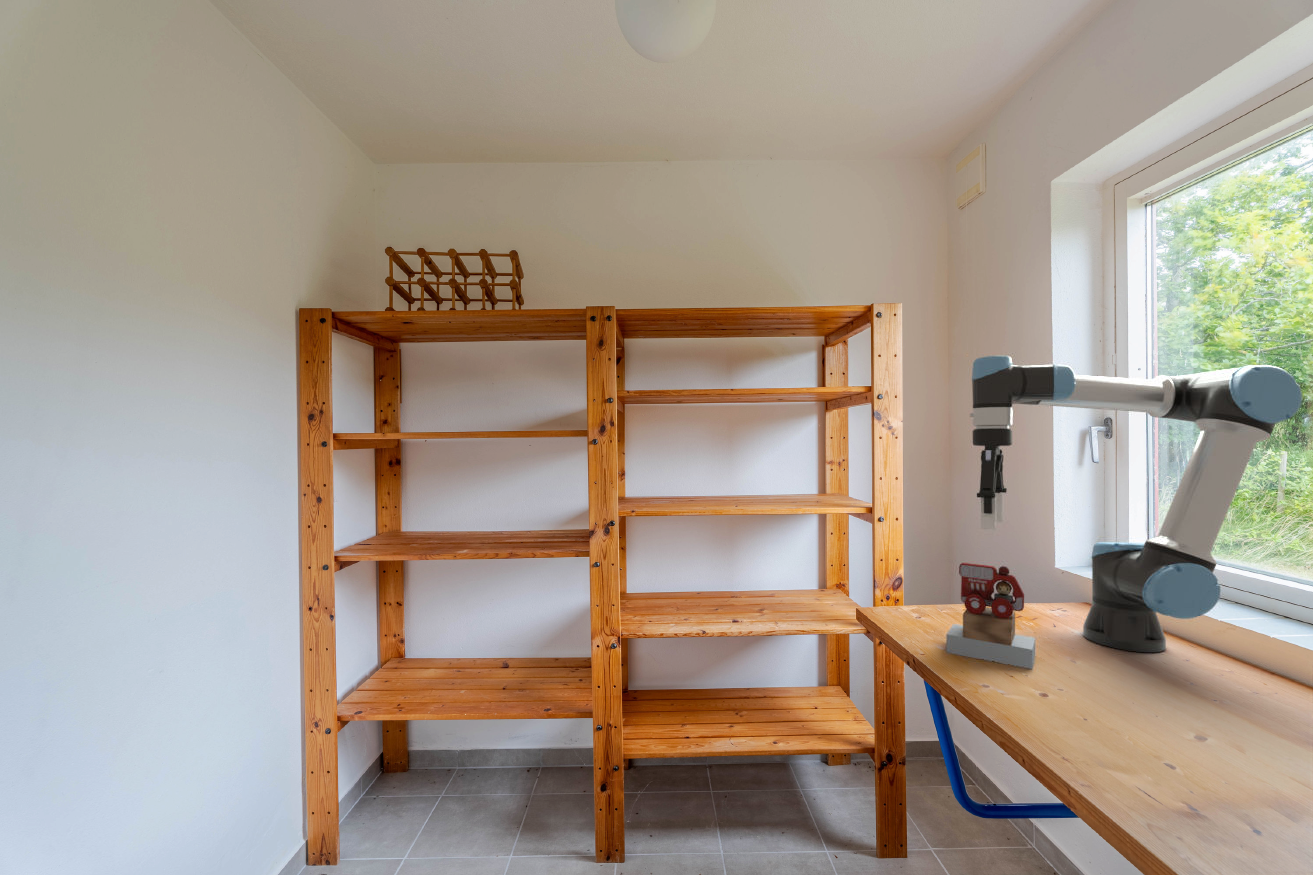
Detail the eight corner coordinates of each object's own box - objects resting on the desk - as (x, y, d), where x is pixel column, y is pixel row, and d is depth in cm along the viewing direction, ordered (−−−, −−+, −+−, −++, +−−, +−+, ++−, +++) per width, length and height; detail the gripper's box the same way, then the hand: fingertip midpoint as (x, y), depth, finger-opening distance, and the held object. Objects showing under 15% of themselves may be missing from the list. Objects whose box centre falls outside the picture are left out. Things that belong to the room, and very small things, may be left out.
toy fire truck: (1023, 622, 123) (1023, 571, 123) (956, 611, 130) (956, 564, 130) (1024, 613, 129) (1024, 565, 129) (960, 604, 136) (961, 559, 136)
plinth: (1035, 656, 128) (1035, 637, 128) (1032, 669, 121) (1032, 649, 121) (953, 641, 138) (953, 623, 138) (946, 652, 130) (946, 634, 130)
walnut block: (1015, 634, 130) (1015, 611, 130) (1011, 645, 123) (1011, 621, 123) (969, 626, 136) (969, 604, 136) (962, 637, 128) (963, 614, 128)
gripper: (980, 428, 142) (980, 517, 142) (963, 427, 121) (964, 531, 121) (1017, 428, 137) (1017, 520, 137) (1006, 426, 117) (1006, 534, 117)
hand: (992, 525), depth 129 cm, fingers open, 13 cm apart
